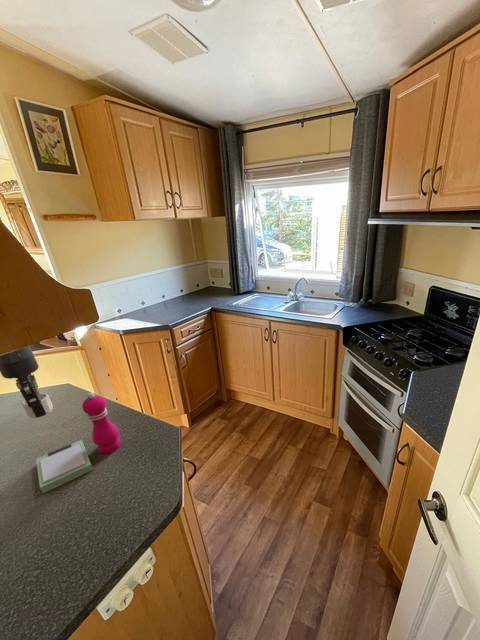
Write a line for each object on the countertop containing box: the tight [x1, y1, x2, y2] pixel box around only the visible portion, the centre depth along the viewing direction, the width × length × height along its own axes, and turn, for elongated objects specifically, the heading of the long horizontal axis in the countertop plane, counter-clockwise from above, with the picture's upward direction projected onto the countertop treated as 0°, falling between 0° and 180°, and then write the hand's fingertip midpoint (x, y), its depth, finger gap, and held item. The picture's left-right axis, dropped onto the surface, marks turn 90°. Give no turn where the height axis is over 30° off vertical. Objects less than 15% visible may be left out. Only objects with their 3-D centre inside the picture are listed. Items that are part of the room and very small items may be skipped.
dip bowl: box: [21, 392, 54, 419], centre depth 80 cm, size 6×6×4 cm
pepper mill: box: [81, 392, 122, 454], centre depth 88 cm, size 7×7×20 cm
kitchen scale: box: [35, 439, 94, 494], centre depth 84 cm, size 14×12×3 cm
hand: (40, 410), depth 80 cm, fingers closed on dip bowl, 6 cm apart
